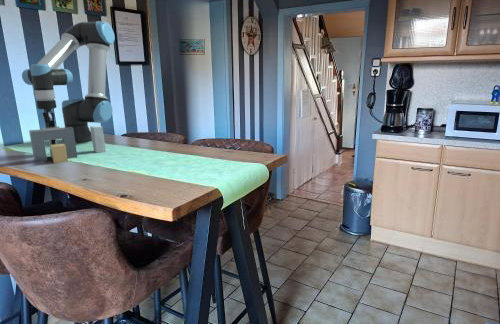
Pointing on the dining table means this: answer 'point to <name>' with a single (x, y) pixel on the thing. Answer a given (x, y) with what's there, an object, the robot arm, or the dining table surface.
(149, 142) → the dining table surface
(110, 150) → the dining table surface
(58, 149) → the plug
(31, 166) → the dining table surface
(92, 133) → the skincare box
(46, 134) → the housing
